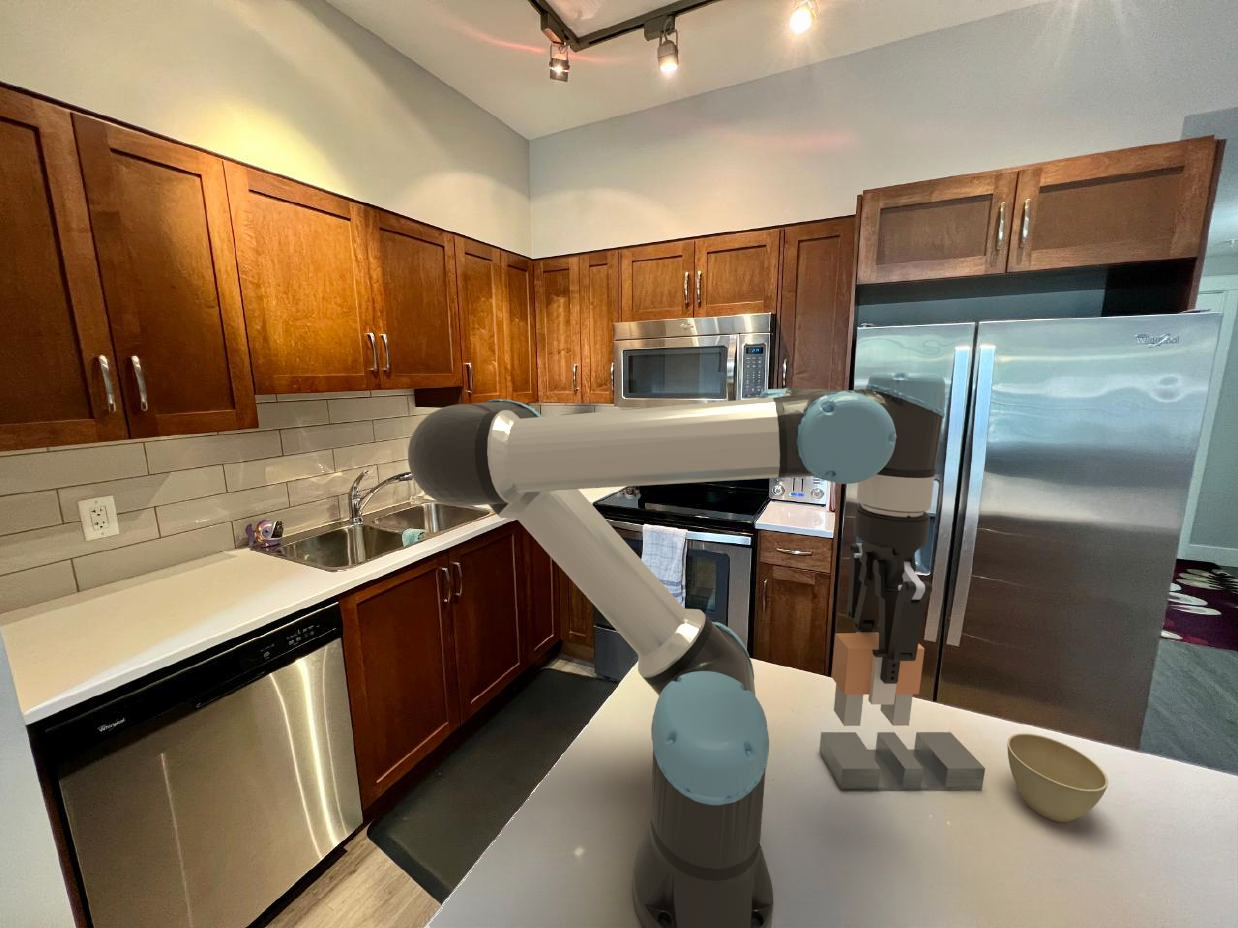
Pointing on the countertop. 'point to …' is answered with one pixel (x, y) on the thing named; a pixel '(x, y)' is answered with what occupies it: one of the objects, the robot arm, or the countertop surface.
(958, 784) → the grey block fixture
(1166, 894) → the countertop surface
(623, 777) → the countertop surface
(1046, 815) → the beige planter bowl
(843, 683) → the orange block
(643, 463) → the robot arm
